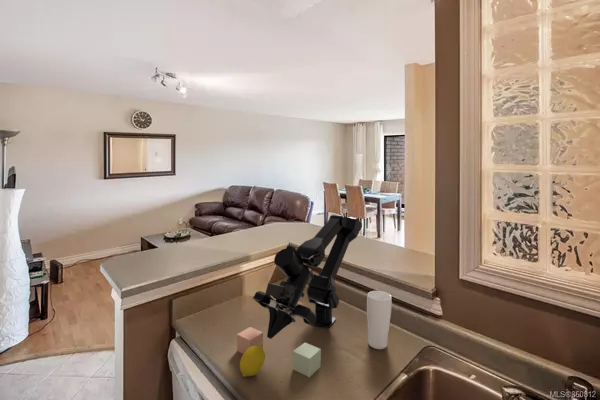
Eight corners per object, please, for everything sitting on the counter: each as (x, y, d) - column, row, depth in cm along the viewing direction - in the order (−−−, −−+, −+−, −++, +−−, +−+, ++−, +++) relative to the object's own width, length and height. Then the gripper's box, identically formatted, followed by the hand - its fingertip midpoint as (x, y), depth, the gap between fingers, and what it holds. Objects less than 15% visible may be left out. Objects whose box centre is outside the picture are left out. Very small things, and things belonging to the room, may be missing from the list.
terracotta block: (250, 342, 93) (250, 326, 92) (262, 349, 90) (262, 332, 89) (237, 351, 89) (237, 334, 88) (250, 357, 86) (249, 340, 85)
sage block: (304, 359, 85) (304, 342, 84) (320, 367, 82) (320, 349, 81) (293, 369, 81) (293, 351, 80) (309, 377, 78) (309, 358, 77)
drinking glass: (391, 341, 93) (393, 292, 92) (387, 354, 87) (389, 302, 86) (368, 336, 96) (370, 288, 94) (362, 348, 90) (364, 297, 88)
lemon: (274, 352, 79) (256, 384, 75) (265, 349, 84) (247, 379, 80) (257, 340, 78) (238, 372, 74) (249, 337, 83) (230, 367, 79)
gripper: (257, 263, 91) (227, 314, 83) (310, 278, 80) (282, 339, 72) (275, 281, 98) (249, 330, 90) (327, 297, 87) (302, 355, 79)
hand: (268, 337), depth 83 cm, fingers closed
